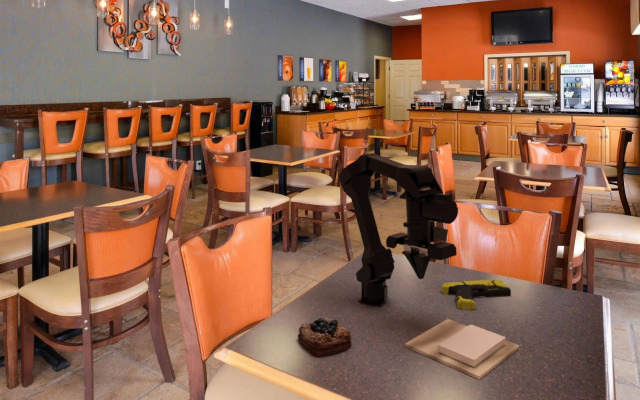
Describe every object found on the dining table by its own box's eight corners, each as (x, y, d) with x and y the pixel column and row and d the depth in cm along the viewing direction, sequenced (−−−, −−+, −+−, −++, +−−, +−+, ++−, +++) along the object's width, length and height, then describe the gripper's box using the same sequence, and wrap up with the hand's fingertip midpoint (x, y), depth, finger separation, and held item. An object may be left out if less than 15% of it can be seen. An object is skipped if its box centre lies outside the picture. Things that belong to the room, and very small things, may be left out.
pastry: (315, 361, 112) (315, 337, 111) (292, 338, 122) (291, 316, 121) (357, 349, 117) (357, 326, 116) (331, 328, 127) (331, 306, 126)
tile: (438, 344, 113) (474, 360, 106) (470, 324, 122) (505, 337, 116) (437, 352, 113) (473, 368, 107) (470, 331, 122) (505, 344, 116)
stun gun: (525, 298, 137) (500, 278, 151) (456, 302, 135) (438, 281, 150) (524, 308, 137) (500, 287, 152) (456, 312, 136) (438, 290, 150)
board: (405, 346, 117) (405, 343, 117) (447, 321, 129) (447, 318, 129) (479, 379, 104) (479, 376, 104) (519, 348, 116) (519, 345, 116)
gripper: (470, 216, 120) (472, 279, 123) (413, 207, 135) (416, 263, 138) (439, 225, 114) (441, 291, 116) (383, 215, 129) (386, 273, 131)
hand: (421, 278), depth 126 cm, fingers closed
